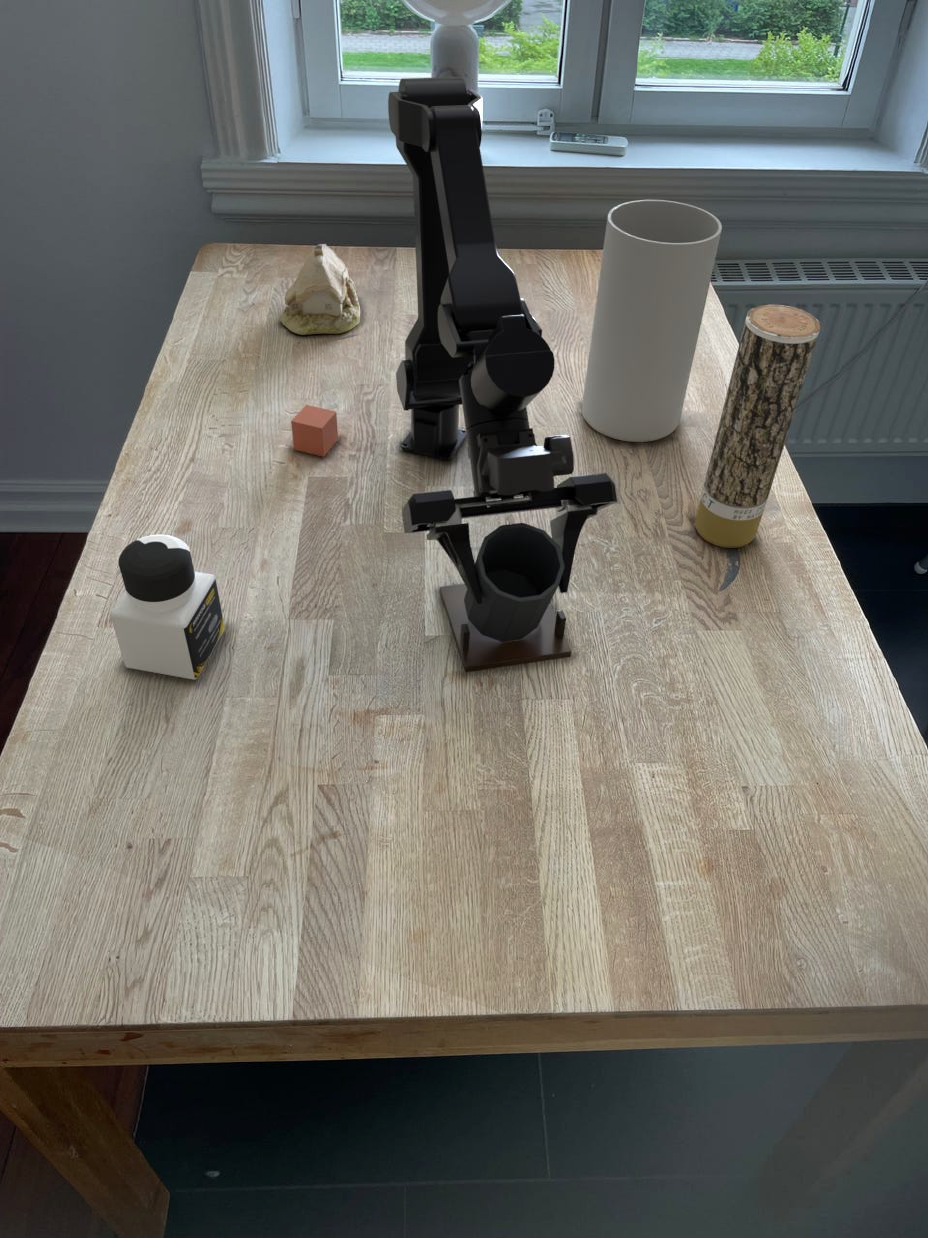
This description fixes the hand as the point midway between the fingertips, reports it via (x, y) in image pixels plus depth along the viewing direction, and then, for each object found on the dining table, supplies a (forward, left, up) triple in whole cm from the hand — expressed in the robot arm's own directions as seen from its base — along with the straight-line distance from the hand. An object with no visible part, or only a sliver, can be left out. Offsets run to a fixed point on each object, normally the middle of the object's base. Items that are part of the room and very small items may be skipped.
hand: (521, 598), depth 87 cm
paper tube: (-27, +16, -8) cm, 32 cm away
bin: (-4, -3, -5) cm, 7 cm away
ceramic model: (-56, -47, -8) cm, 74 cm away
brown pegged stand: (-4, -3, -8) cm, 9 cm away
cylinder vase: (-46, +1, -8) cm, 47 cm away
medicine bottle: (+11, -30, -8) cm, 33 cm away
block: (-25, -33, -8) cm, 42 cm away
